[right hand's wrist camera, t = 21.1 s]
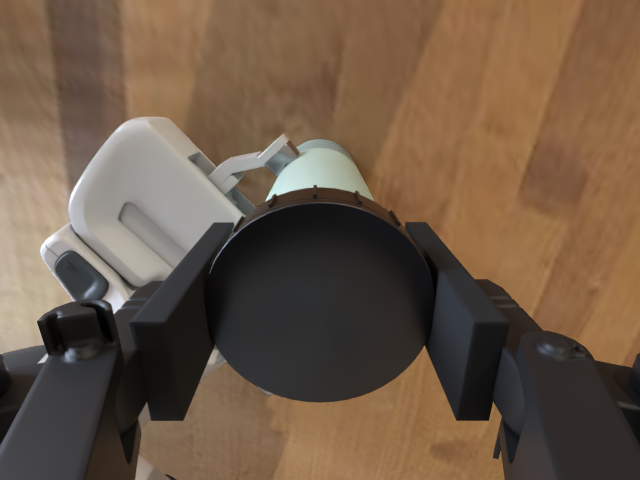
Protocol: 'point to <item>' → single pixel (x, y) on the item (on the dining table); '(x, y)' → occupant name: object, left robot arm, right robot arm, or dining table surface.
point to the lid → (319, 296)
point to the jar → (321, 170)
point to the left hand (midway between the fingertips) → (330, 188)
